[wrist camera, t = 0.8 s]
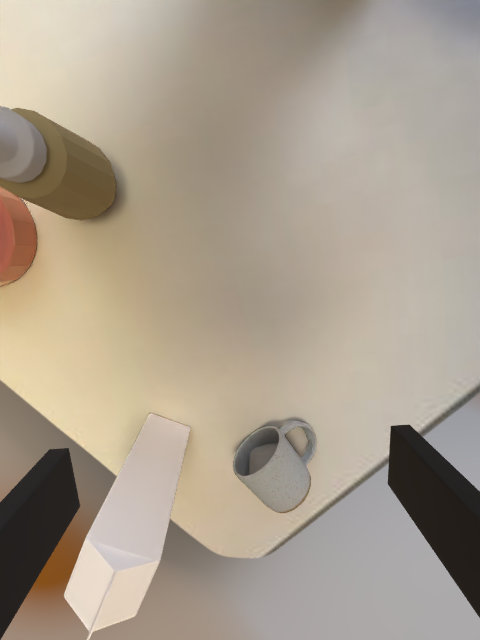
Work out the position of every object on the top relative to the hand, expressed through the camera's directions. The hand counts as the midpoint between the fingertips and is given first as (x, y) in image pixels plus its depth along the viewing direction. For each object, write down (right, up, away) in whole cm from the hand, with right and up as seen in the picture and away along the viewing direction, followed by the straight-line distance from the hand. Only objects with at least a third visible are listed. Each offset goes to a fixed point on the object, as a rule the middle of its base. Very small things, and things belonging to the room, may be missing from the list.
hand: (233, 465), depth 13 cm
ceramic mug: (+5, -12, +31) cm, 33 cm away
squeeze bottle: (-17, +21, +23) cm, 36 cm away
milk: (-10, -10, +30) cm, 33 cm away
